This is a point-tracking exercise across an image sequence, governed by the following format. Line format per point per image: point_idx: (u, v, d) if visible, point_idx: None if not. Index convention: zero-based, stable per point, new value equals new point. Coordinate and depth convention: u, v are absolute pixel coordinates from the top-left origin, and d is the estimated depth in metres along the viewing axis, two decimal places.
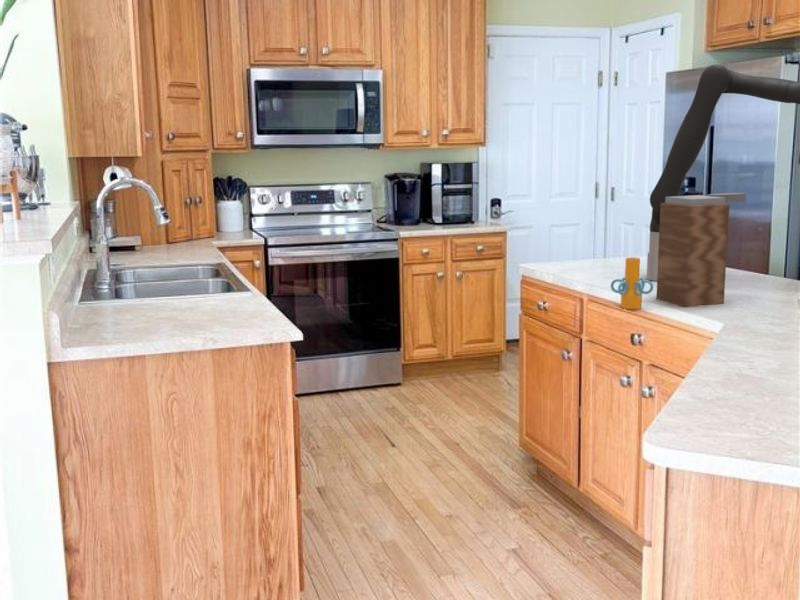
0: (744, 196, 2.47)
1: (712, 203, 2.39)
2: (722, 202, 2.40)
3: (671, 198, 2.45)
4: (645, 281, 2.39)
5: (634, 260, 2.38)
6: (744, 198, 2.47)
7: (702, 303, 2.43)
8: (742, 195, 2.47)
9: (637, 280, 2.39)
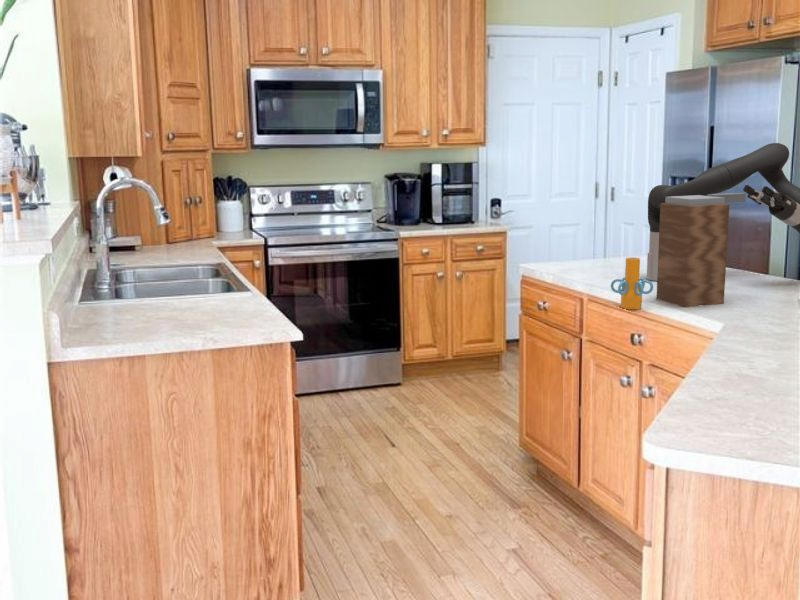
0: (744, 196, 2.47)
1: (712, 203, 2.39)
2: (722, 202, 2.40)
3: (671, 198, 2.45)
4: (645, 281, 2.39)
5: (634, 260, 2.38)
6: (744, 198, 2.47)
7: (702, 303, 2.43)
8: (742, 195, 2.47)
9: (637, 280, 2.39)
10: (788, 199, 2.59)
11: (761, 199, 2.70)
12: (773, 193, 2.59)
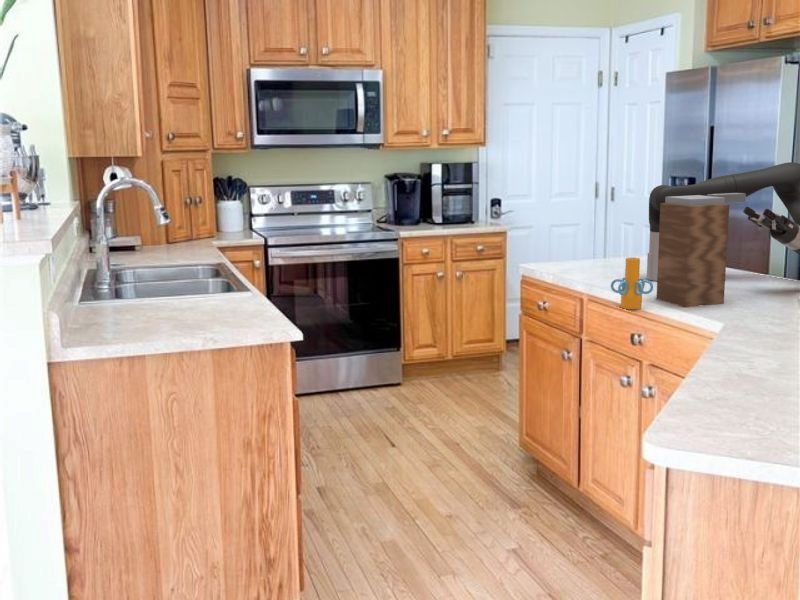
0: (744, 196, 2.47)
1: (712, 203, 2.39)
2: (722, 202, 2.40)
3: (671, 198, 2.45)
4: (645, 281, 2.39)
5: (634, 260, 2.38)
6: (744, 198, 2.47)
7: (702, 303, 2.43)
8: (742, 195, 2.47)
9: (637, 280, 2.39)
10: (790, 222, 2.48)
11: (762, 221, 2.59)
12: (775, 216, 2.48)
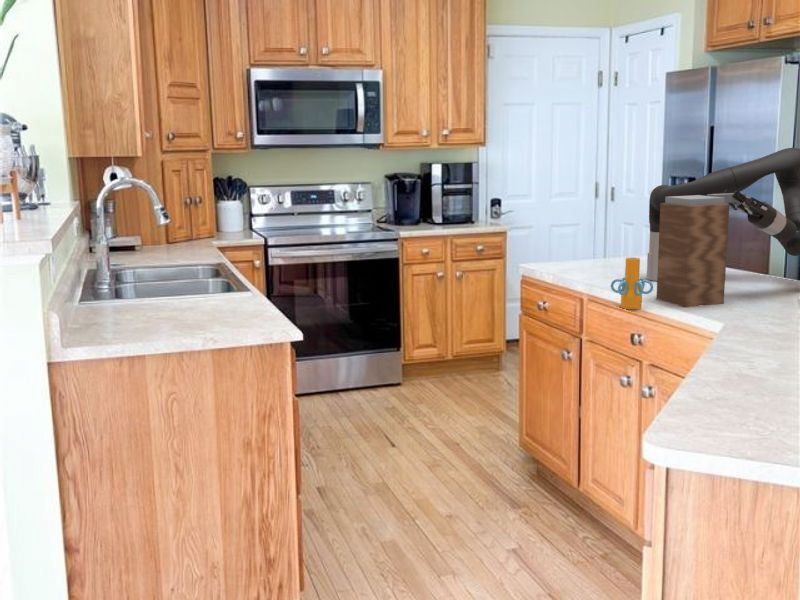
0: None
1: (712, 203, 2.39)
2: (722, 202, 2.40)
3: (671, 198, 2.45)
4: (645, 281, 2.39)
5: (634, 260, 2.38)
6: None
7: (702, 303, 2.43)
8: None
9: (637, 280, 2.39)
10: (762, 204, 2.45)
11: None
12: (744, 198, 2.46)
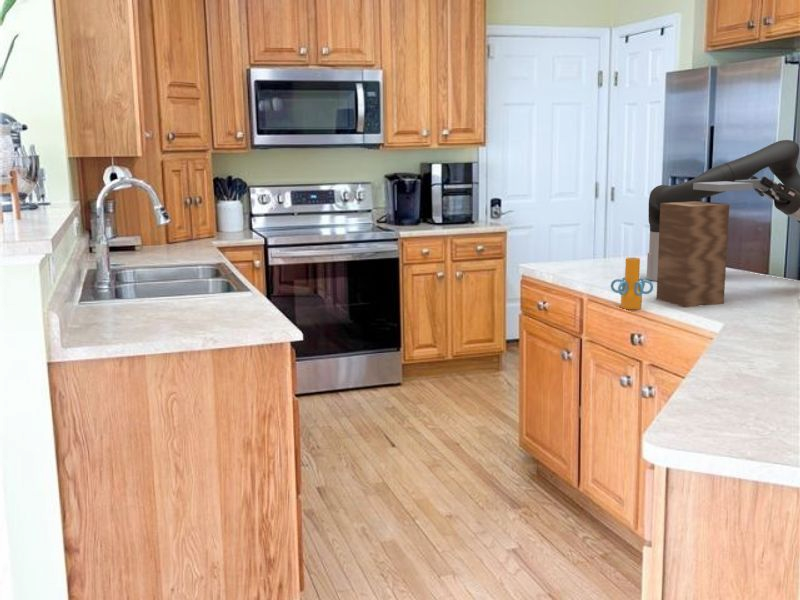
0: None
1: (740, 188, 2.42)
2: (750, 187, 2.43)
3: (699, 184, 2.47)
4: (645, 281, 2.39)
5: (634, 260, 2.38)
6: None
7: (702, 303, 2.43)
8: None
9: (637, 280, 2.39)
10: (790, 190, 2.47)
11: None
12: (772, 184, 2.48)
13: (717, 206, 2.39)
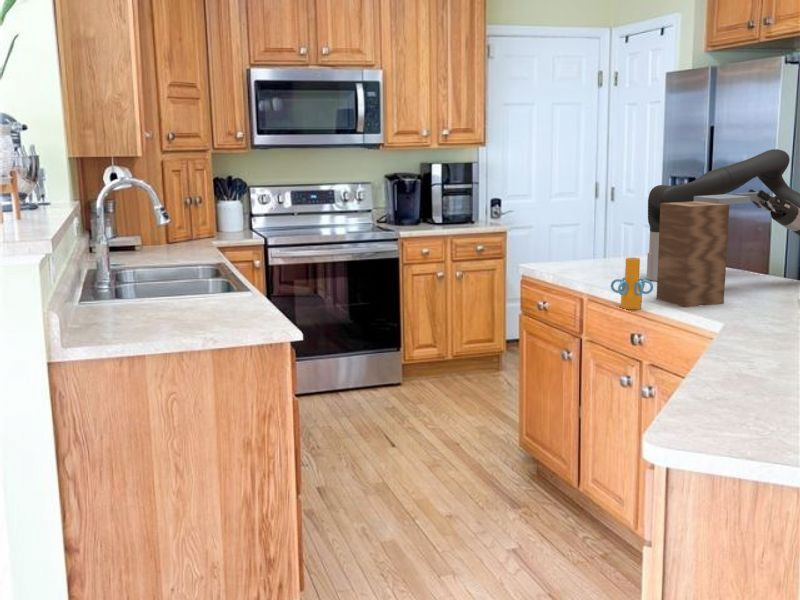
0: None
1: (739, 202, 2.54)
2: (748, 201, 2.55)
3: (699, 197, 2.60)
4: (645, 281, 2.39)
5: (634, 260, 2.38)
6: None
7: (702, 303, 2.43)
8: None
9: (637, 280, 2.39)
10: (786, 202, 2.60)
11: None
12: (768, 197, 2.61)
13: (717, 206, 2.39)
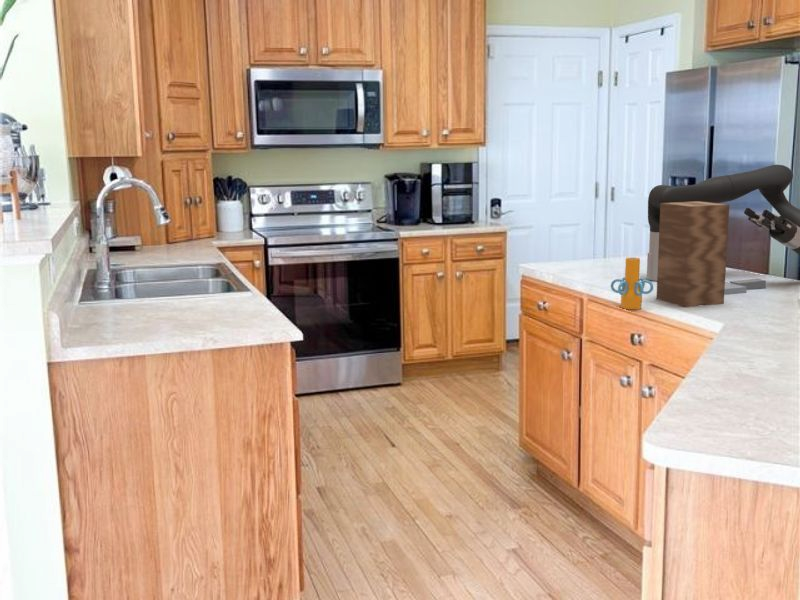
0: (764, 283, 2.68)
1: (735, 292, 2.60)
2: (744, 291, 2.61)
3: None
4: (645, 281, 2.39)
5: (634, 260, 2.38)
6: (764, 285, 2.68)
7: (702, 303, 2.43)
8: (762, 282, 2.68)
9: (637, 280, 2.39)
10: (788, 223, 2.60)
11: (762, 222, 2.72)
12: (773, 217, 2.60)
13: (717, 206, 2.39)
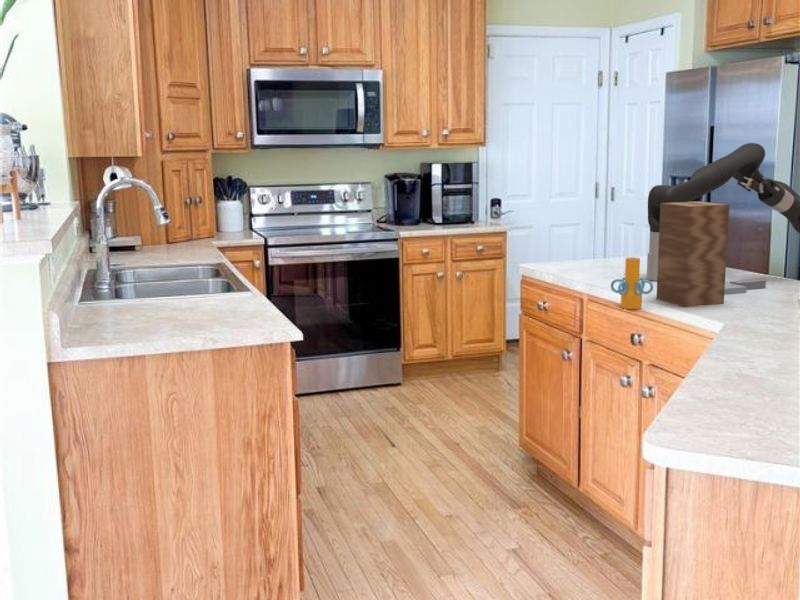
0: (764, 283, 2.68)
1: (735, 292, 2.60)
2: (744, 291, 2.61)
3: None
4: (645, 281, 2.39)
5: (634, 260, 2.38)
6: (764, 285, 2.68)
7: (702, 303, 2.43)
8: (762, 282, 2.68)
9: (637, 280, 2.39)
10: (776, 185, 2.67)
11: (750, 186, 2.78)
12: (762, 179, 2.66)
13: (717, 206, 2.39)
